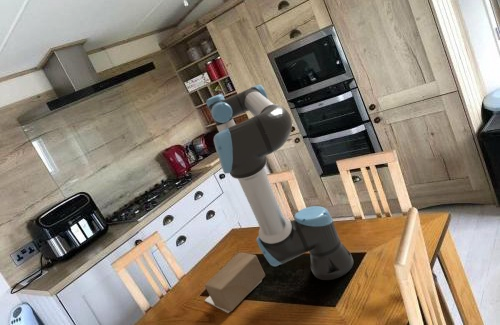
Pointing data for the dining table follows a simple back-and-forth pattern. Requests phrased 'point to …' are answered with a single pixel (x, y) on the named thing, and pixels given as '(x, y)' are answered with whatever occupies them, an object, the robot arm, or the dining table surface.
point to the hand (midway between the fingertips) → (248, 176)
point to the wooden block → (235, 281)
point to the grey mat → (219, 307)
